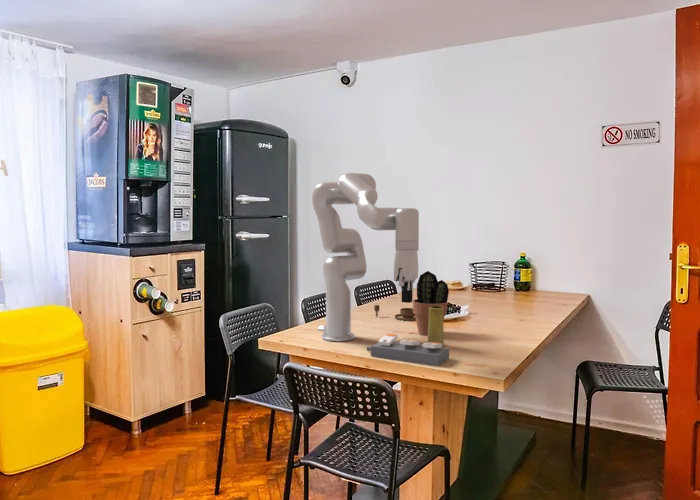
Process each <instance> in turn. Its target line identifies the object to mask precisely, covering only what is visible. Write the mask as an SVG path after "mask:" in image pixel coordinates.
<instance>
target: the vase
mask: <svg viewBox="0 0 700 500" xmlns="http://www.w3.org/2000/svg"><path fill="white" fill-rule="evenodd" d="M444 335H445V333H444V321H443V307H442V306H429V321H428V336H427V343H429V342H435V343H441V344H442V347H443V348H445V347H444V346H445V343H444V342H445V341H444V339H445V338H444Z"/></svg>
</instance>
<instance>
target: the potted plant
mask: <svg viewBox="0 0 700 500" xmlns="http://www.w3.org/2000/svg"><path fill="white" fill-rule="evenodd" d="M448 285H449V284H448V283H446V281H444V280H443V279H441V280H439V281H438V278H437V276H436V274H434V273H432V272H431V271H429V270H427V271H425V272H423V273H422V274H420V275H419V276H418V280H417V283H416V299H412V308H413V313H414V314H415V317H414V318H416V321H415V322H416V327H417V333H418V335H420V336H426V337H428V321H429V306H442V307H443V322H444V320H445V316H446V315H447V313H448V311H447V310H448V300H449V294H450V291H449V286H448Z"/></svg>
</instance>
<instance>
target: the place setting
mask: <svg viewBox="0 0 700 500" xmlns="http://www.w3.org/2000/svg"><path fill="white" fill-rule="evenodd" d="M373 310H374V312H375V317H376V318H378V317H379V316H378V315H379V314H378V312H380V305H379V304H378V305H377V304H375V305H373ZM377 316H378V317H377ZM398 316H402V317H398ZM414 316H415V314H414V313H413V307H402V308H400V310H399V313H397V314H394V319H395V320H397V321H401V320H403V321H402V322H416V321H415V320H416V317H414Z"/></svg>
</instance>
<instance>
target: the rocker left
mask: <svg viewBox="0 0 700 500" xmlns="http://www.w3.org/2000/svg"><path fill="white" fill-rule="evenodd" d="M398 338H399V334H395V333H386V334H385V335H383V337H381V338H380V339H379V340H378V341H377V343H378V345H386V346H390V345H391V344H392V343H393V342H394V341H397V340H398Z"/></svg>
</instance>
